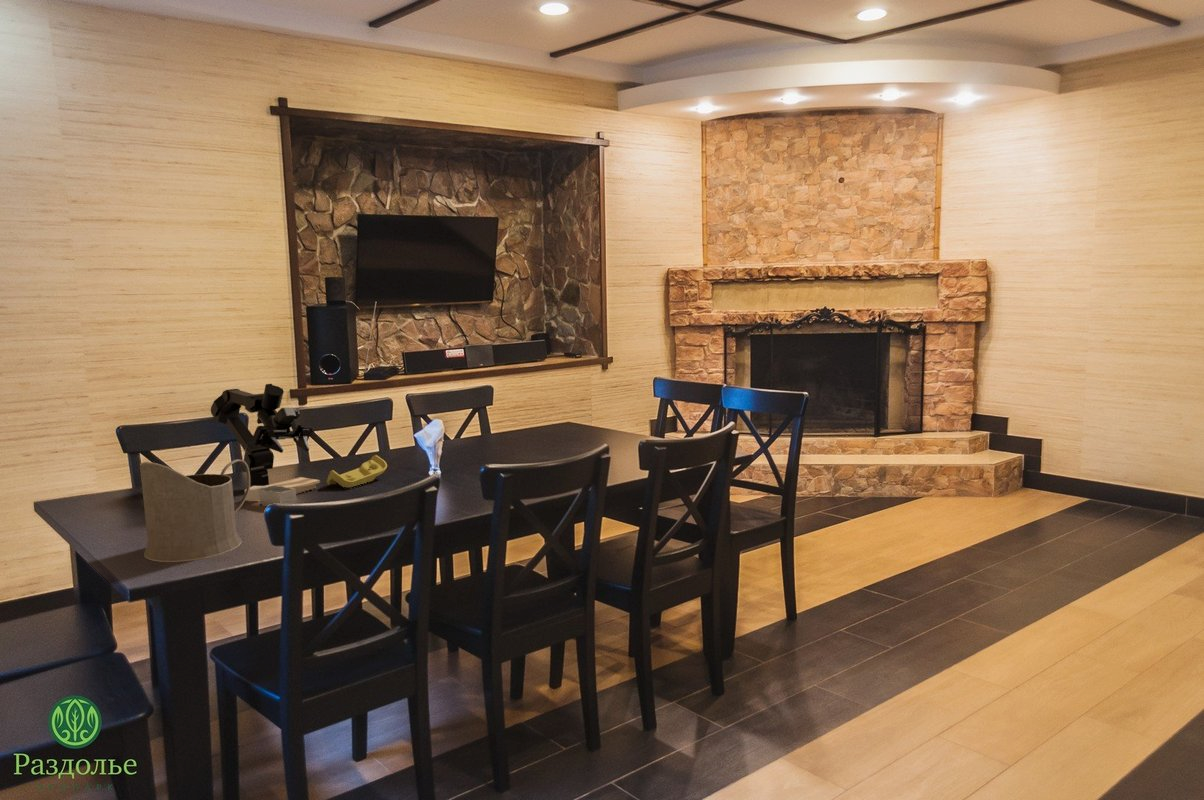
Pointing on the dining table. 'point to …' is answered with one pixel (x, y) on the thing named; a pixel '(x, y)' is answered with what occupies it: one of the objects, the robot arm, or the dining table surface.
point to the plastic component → (359, 473)
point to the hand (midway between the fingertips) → (295, 450)
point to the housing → (277, 495)
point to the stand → (298, 484)
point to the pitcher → (188, 513)
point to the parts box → (254, 492)
